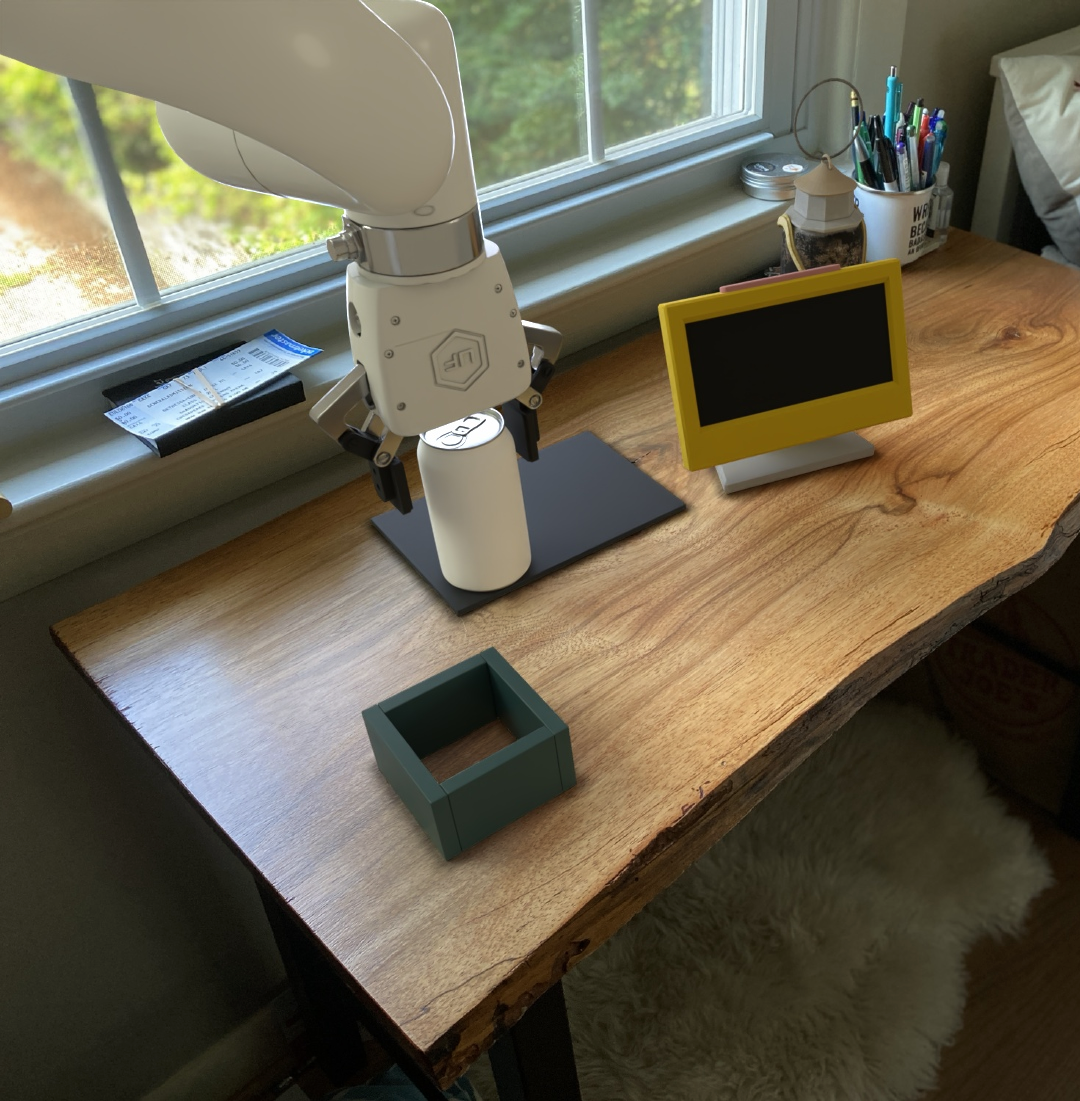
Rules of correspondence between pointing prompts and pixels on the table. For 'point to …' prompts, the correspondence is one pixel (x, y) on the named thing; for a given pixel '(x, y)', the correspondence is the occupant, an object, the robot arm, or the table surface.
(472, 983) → the table surface
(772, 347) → the yellow framed monitor
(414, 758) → the box
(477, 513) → the can
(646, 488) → the mat
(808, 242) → the lantern
